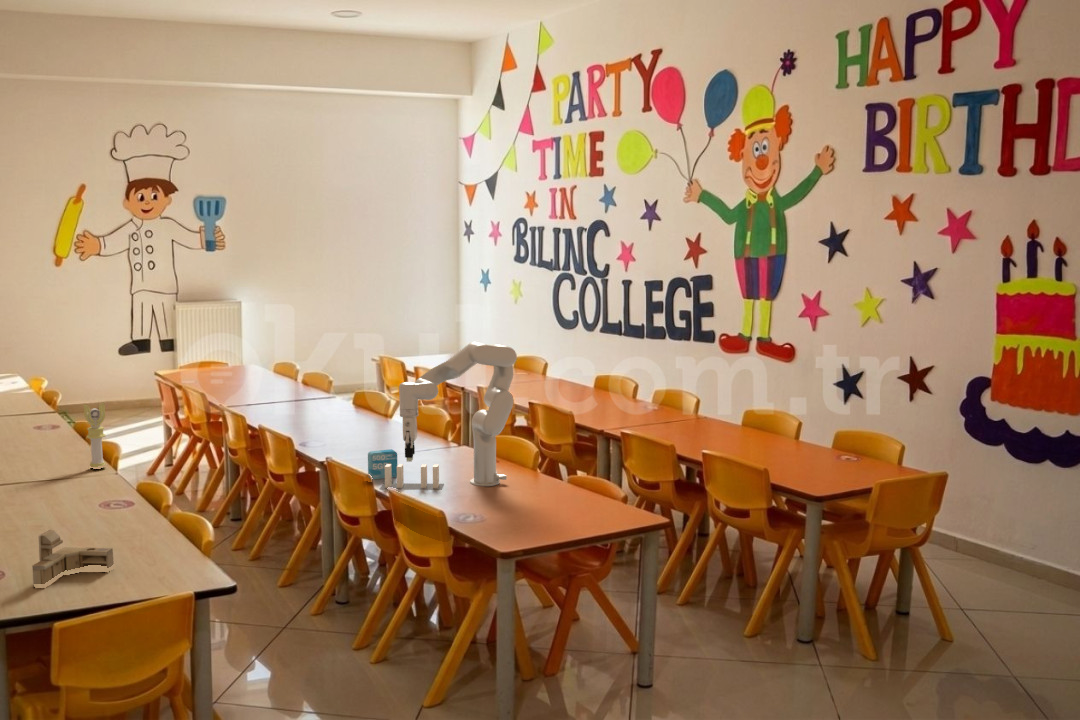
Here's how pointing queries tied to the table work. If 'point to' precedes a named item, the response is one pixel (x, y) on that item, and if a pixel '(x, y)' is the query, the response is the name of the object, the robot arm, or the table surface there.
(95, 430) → the trophy
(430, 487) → the domino mat
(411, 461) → the domino
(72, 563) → the toy kitchen set
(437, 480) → the domino
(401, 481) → the domino
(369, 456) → the data package
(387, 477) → the domino
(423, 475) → the domino
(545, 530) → the table surface
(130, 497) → the table surface
